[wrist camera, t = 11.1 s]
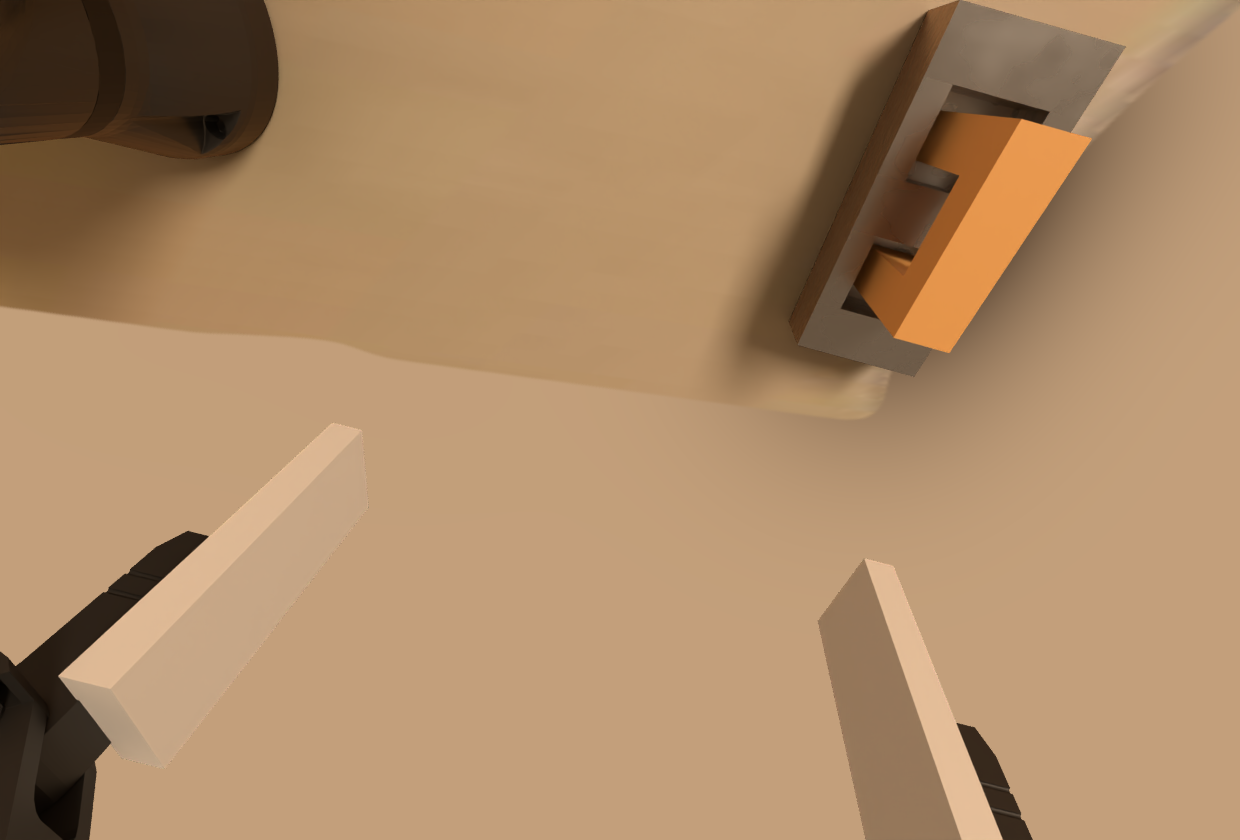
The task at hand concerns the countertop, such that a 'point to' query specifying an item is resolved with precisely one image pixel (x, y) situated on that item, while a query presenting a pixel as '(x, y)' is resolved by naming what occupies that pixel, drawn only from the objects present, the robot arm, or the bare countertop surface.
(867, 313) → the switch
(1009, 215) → the orange u-shaped block
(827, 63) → the countertop surface
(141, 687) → the robot arm
